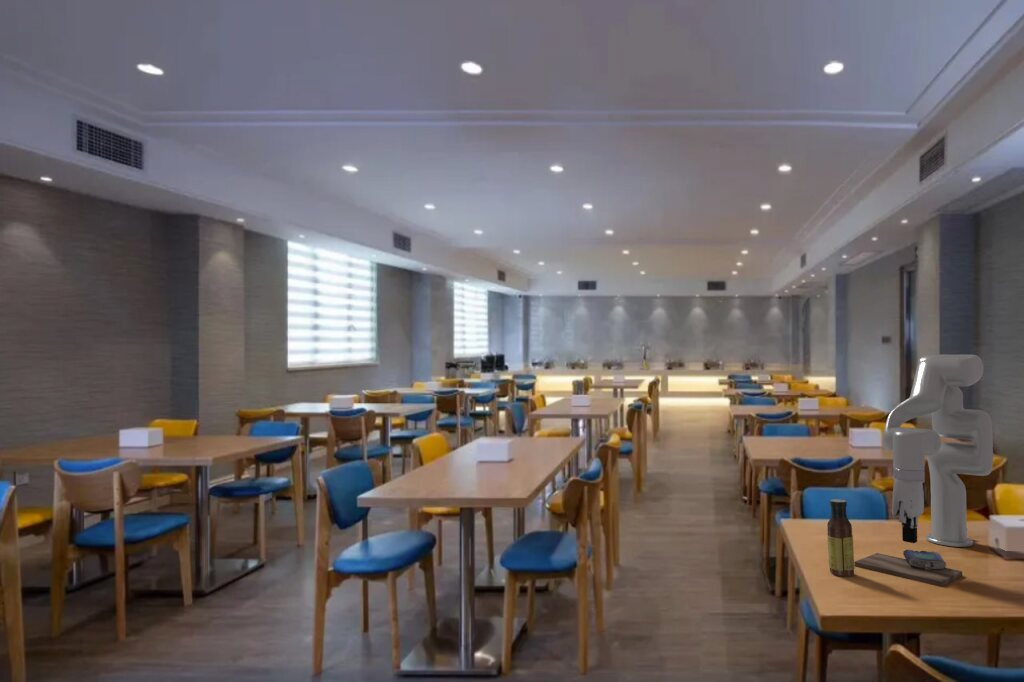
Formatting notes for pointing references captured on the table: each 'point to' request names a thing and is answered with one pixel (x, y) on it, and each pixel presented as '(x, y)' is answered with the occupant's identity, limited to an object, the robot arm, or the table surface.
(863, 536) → the table surface
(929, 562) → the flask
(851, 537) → the sauce bottle
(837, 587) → the table surface
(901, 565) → the walnut board
